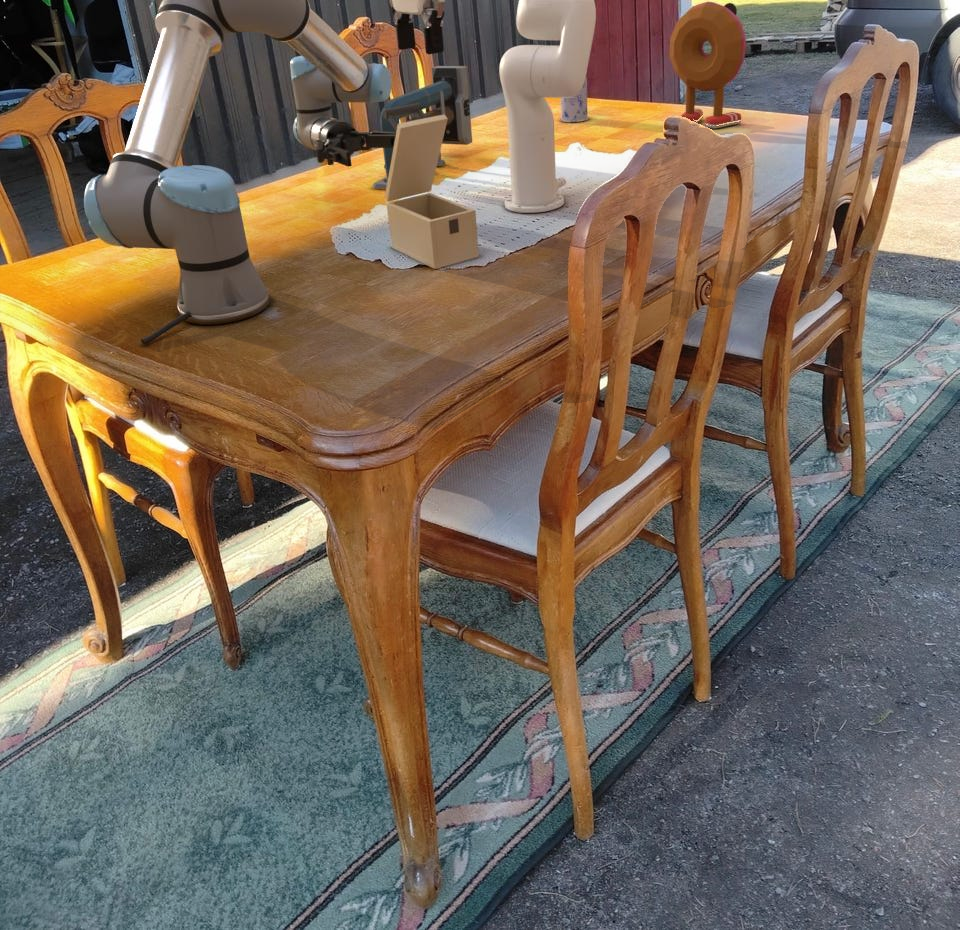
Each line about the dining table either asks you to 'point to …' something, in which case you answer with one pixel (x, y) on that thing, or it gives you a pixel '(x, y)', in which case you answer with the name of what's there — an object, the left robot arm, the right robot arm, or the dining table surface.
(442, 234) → the chest
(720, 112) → the toy
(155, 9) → the left robot arm
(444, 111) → the clamp
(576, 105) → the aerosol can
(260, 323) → the dining table surface
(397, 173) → the lid
